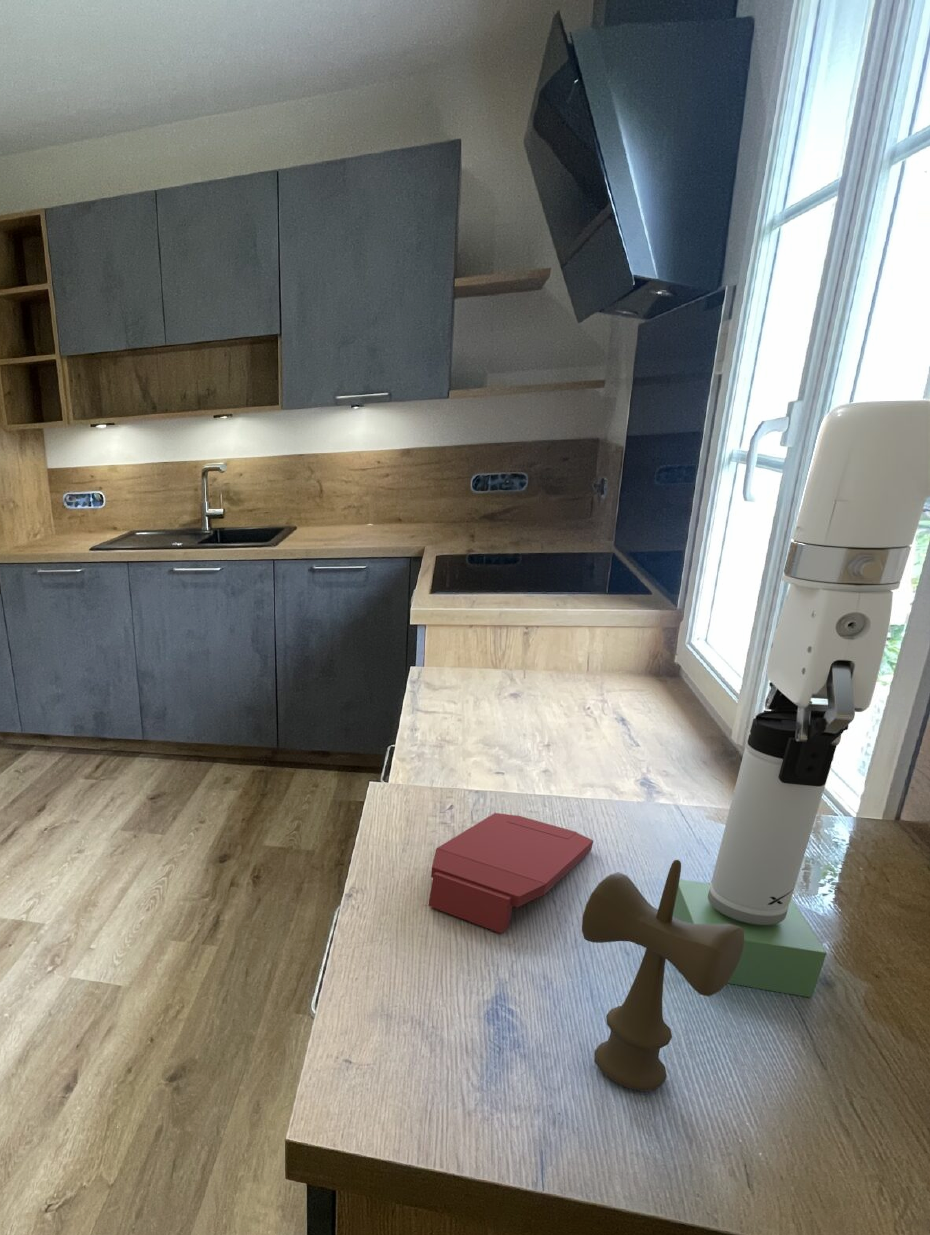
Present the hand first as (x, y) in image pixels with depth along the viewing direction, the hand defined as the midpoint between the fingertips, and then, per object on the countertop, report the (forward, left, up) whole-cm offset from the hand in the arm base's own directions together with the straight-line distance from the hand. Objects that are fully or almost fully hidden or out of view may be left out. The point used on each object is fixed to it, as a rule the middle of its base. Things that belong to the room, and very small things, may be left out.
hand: (787, 765), depth 70 cm
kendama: (+12, +20, -21) cm, 31 cm away
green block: (0, 0, -21) cm, 21 cm away
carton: (+21, -10, -21) cm, 31 cm away
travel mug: (0, 0, -15) cm, 15 cm away
